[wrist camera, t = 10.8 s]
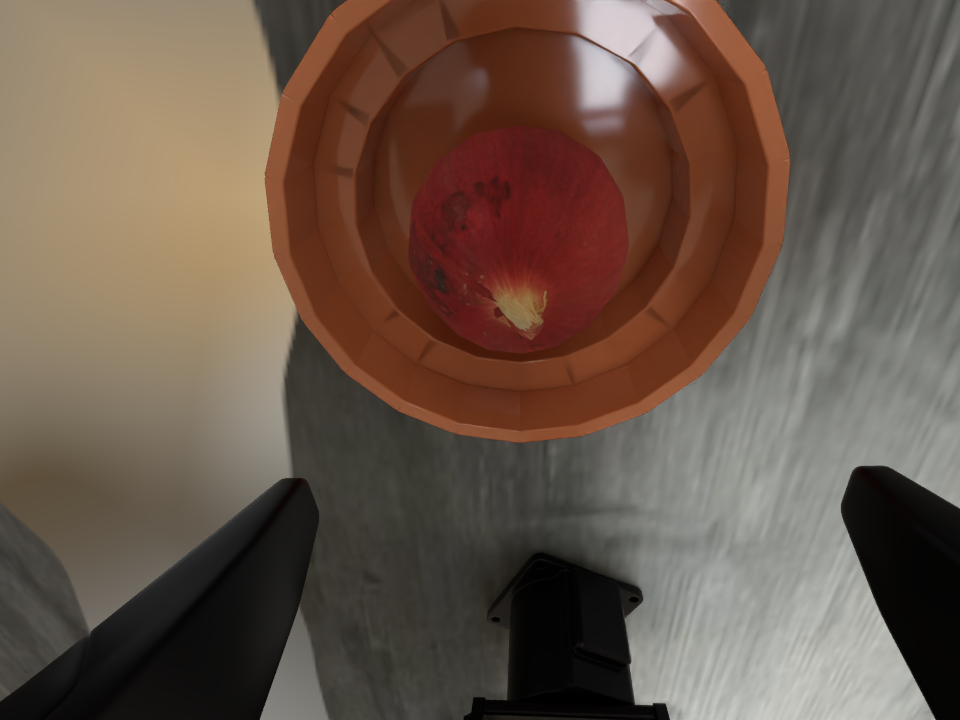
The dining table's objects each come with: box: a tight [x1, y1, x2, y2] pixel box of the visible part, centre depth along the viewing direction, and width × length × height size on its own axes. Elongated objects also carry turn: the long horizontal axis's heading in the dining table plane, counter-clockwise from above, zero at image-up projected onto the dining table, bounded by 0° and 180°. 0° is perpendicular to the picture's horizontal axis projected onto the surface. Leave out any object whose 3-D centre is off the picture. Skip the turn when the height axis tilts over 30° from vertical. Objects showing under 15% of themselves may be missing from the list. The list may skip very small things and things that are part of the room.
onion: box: [407, 125, 629, 353], centre depth 14 cm, size 6×6×8 cm
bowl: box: [265, 0, 791, 443], centre depth 16 cm, size 13×13×5 cm
